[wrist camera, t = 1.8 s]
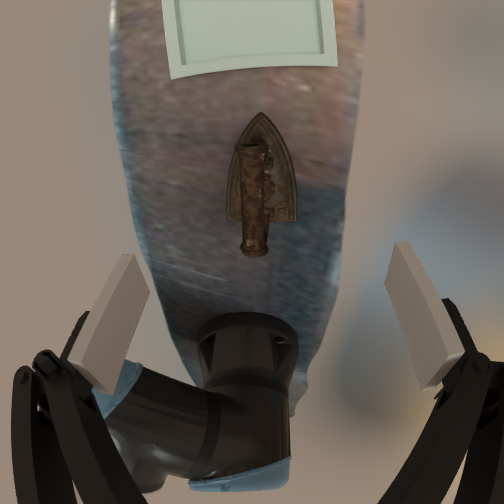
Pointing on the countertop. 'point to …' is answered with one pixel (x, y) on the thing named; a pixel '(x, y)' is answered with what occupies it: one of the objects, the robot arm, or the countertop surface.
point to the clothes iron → (260, 184)
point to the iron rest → (247, 34)
